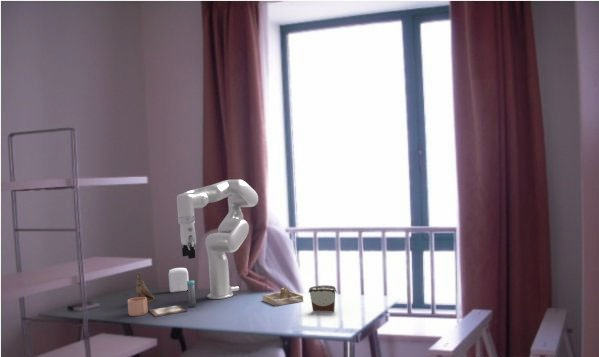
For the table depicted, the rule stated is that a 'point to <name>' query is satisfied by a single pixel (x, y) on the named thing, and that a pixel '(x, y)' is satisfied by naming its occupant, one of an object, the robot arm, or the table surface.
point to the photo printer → (178, 279)
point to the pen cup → (137, 306)
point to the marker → (191, 293)
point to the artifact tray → (270, 299)
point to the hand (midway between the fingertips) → (188, 257)
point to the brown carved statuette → (143, 290)
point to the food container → (323, 298)
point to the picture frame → (167, 310)
